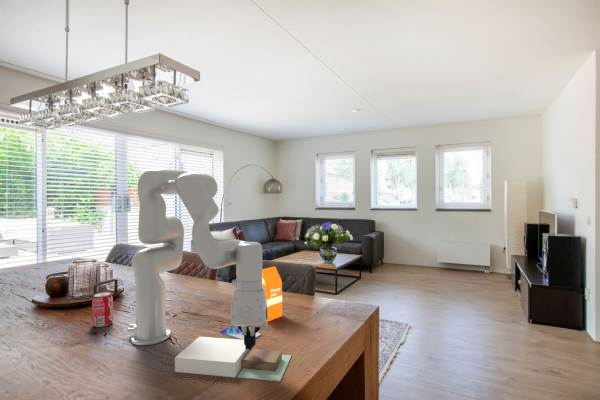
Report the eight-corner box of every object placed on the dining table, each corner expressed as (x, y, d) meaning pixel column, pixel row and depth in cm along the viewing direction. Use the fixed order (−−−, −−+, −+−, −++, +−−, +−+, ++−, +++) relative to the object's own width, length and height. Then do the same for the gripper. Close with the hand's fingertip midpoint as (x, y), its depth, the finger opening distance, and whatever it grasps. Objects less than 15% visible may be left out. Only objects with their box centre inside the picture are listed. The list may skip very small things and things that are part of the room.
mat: (237, 377, 87) (237, 376, 87) (254, 353, 101) (254, 352, 101) (280, 381, 85) (280, 380, 85) (291, 356, 99) (291, 355, 99)
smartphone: (249, 341, 108) (218, 332, 117) (249, 344, 109) (218, 334, 117) (263, 333, 115) (232, 325, 123) (263, 336, 115) (232, 327, 123)
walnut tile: (241, 368, 92) (241, 359, 92) (250, 356, 98) (249, 348, 98) (275, 371, 90) (275, 362, 90) (281, 359, 96) (281, 350, 96)
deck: (175, 371, 91) (174, 357, 91) (199, 348, 105) (199, 336, 105) (235, 377, 87) (235, 362, 87) (252, 353, 101) (252, 340, 101)
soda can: (110, 319, 131) (110, 290, 131) (115, 324, 126) (115, 293, 126) (90, 324, 126) (89, 294, 126) (94, 329, 121) (94, 298, 121)
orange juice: (253, 317, 132) (253, 268, 132) (270, 311, 138) (269, 265, 138) (266, 322, 127) (265, 271, 126) (282, 316, 133) (282, 267, 133)
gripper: (219, 287, 92) (220, 351, 92) (270, 289, 89) (271, 356, 89) (230, 280, 99) (230, 339, 99) (277, 282, 96) (278, 343, 96)
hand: (249, 347), depth 94 cm, fingers closed
